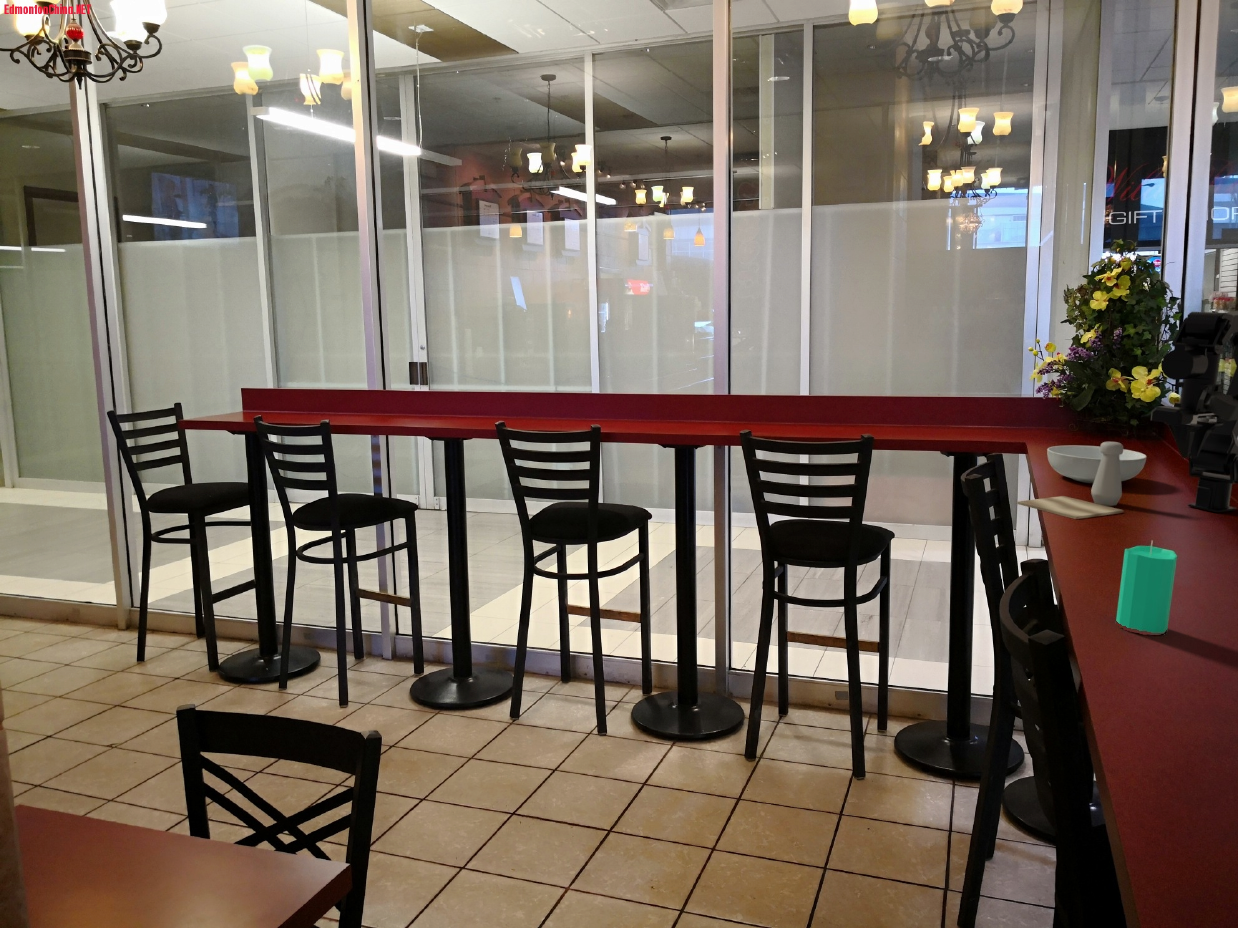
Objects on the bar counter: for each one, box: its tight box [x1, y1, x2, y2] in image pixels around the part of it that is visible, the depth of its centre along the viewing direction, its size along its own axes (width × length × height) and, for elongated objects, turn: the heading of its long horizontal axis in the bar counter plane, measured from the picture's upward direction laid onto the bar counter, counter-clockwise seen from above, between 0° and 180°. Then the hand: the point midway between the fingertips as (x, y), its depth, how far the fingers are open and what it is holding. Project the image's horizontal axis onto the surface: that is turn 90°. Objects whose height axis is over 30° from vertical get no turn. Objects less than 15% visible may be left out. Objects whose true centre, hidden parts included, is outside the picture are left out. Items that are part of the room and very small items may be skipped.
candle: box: [1115, 539, 1178, 633], centre depth 127 cm, size 6×6×12 cm
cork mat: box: [1016, 495, 1124, 520], centre depth 197 cm, size 14×14×1 cm
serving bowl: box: [1046, 445, 1147, 484], centre depth 226 cm, size 21×21×7 cm
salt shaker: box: [1090, 441, 1124, 507], centre depth 200 cm, size 6×6×13 cm
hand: (1189, 457), depth 189 cm, fingers open, 3 cm apart
